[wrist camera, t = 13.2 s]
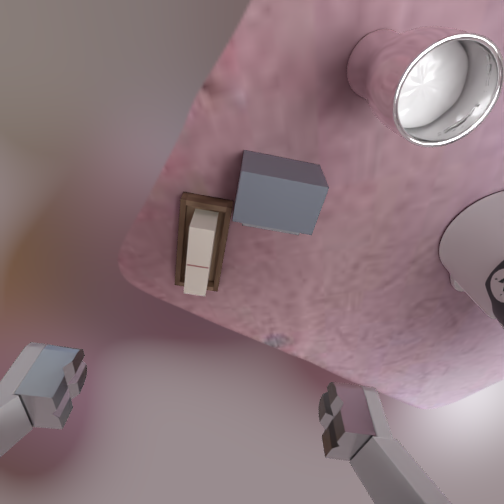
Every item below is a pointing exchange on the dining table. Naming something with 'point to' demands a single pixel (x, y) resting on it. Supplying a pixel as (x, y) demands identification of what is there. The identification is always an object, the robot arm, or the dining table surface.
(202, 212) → the white slab
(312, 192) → the block
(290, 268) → the dining table surface
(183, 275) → the tray
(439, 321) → the dining table surface
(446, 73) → the beer glass
